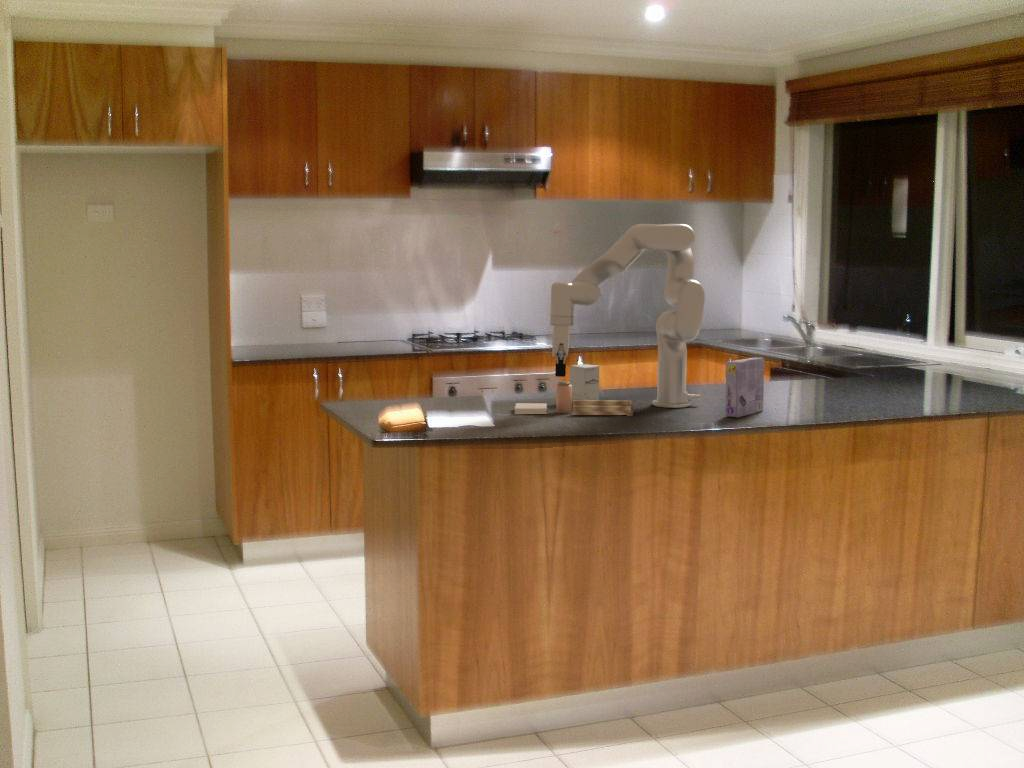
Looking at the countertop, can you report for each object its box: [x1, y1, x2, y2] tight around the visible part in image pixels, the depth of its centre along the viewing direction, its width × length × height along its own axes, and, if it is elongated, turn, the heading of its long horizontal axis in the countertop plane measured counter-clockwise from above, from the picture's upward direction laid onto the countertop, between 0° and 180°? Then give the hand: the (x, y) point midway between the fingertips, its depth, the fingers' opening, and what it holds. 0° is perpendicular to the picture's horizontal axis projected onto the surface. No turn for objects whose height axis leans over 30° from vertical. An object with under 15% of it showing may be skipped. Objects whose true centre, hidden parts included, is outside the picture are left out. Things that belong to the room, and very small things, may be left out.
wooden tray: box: [572, 399, 634, 417], centre depth 352 cm, size 19×12×3 cm, turn 87°
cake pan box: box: [725, 357, 765, 419], centre depth 349 cm, size 19×5×18 cm, turn 141°
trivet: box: [514, 402, 548, 415], centre depth 354 cm, size 10×10×2 cm
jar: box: [555, 380, 573, 414], centre depth 353 cm, size 5×5×10 cm
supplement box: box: [569, 363, 600, 403], centre depth 372 cm, size 7×7×13 cm
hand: (560, 374), depth 351 cm, fingers open, 9 cm apart
